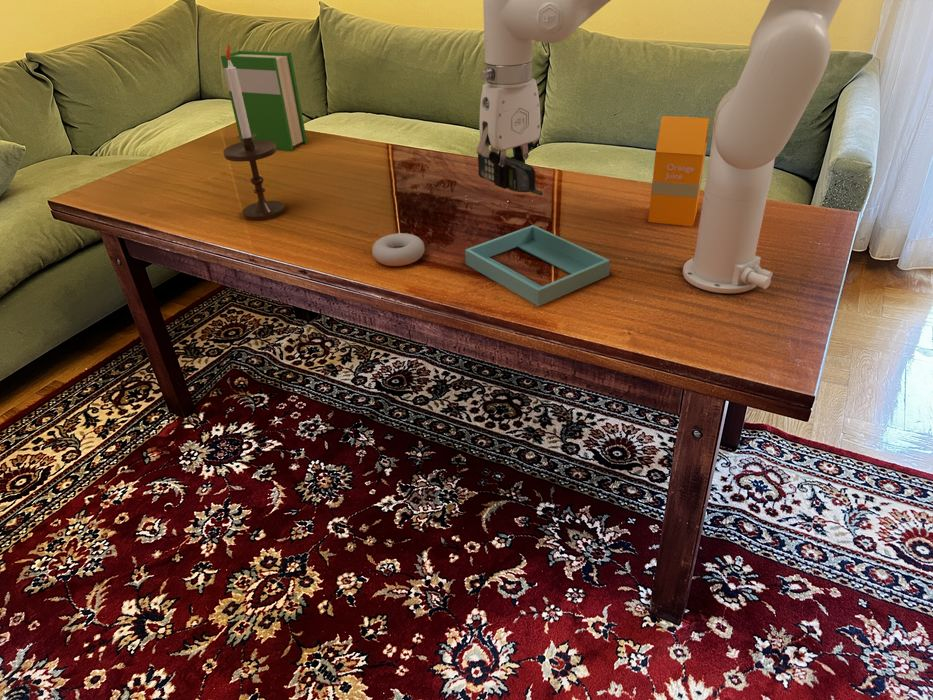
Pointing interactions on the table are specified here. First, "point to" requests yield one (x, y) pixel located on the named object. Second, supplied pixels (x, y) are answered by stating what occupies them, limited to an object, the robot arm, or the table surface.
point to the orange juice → (678, 170)
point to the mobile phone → (511, 174)
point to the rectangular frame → (547, 248)
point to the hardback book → (268, 96)
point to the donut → (398, 249)
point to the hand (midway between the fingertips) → (509, 182)
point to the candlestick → (250, 153)
